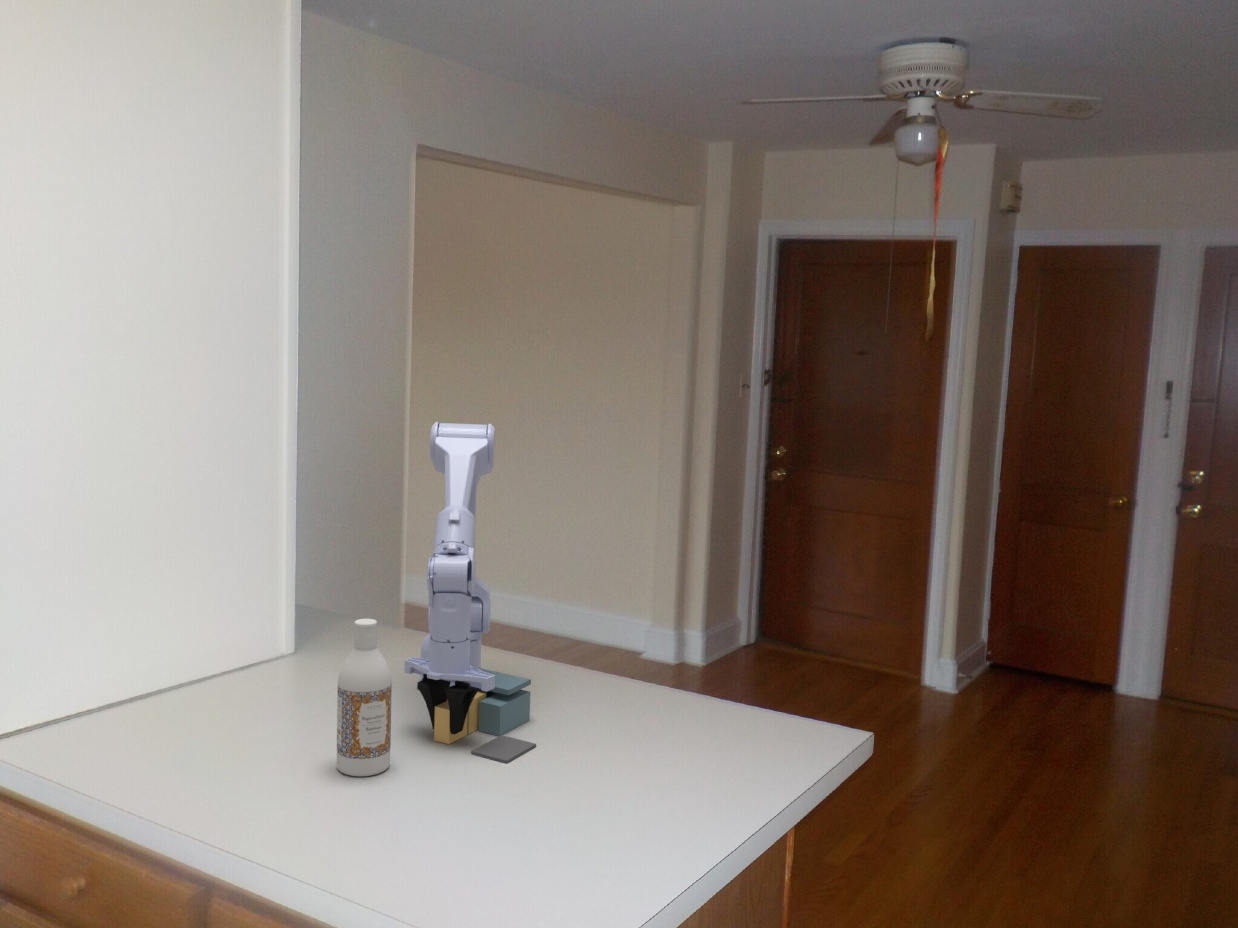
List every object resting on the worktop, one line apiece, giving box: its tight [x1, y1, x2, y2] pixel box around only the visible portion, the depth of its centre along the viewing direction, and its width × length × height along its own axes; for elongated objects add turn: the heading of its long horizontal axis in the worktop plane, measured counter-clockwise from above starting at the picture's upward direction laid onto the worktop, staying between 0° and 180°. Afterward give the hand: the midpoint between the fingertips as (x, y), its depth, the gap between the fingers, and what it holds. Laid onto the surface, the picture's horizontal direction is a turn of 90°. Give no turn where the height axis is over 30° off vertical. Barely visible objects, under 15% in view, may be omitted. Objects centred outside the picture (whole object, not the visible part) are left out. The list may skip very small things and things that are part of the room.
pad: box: [470, 734, 537, 764], centre depth 153 cm, size 6×7×1 cm
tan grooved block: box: [433, 691, 486, 745], centre depth 159 cm, size 3×9×5 cm, turn 152°
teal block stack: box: [447, 667, 532, 737], centre depth 164 cm, size 11×8×6 cm
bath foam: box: [336, 618, 393, 777], centre depth 144 cm, size 7×7×20 cm
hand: (447, 729), depth 156 cm, fingers closed on tan grooved block, 3 cm apart
